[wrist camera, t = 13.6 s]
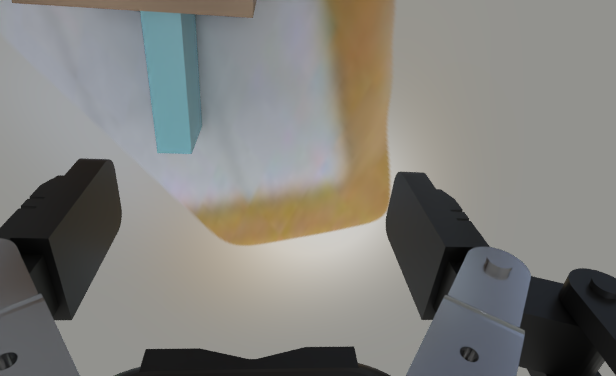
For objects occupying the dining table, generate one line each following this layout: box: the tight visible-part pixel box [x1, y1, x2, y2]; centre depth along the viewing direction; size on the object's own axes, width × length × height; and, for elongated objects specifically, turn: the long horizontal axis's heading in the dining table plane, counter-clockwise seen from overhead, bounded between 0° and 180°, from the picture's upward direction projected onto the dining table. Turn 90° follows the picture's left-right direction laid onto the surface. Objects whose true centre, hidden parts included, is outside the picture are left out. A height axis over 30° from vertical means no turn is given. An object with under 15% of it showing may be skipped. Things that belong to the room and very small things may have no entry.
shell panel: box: [140, 11, 202, 154], centre depth 30 cm, size 14×2×6 cm, turn 176°
